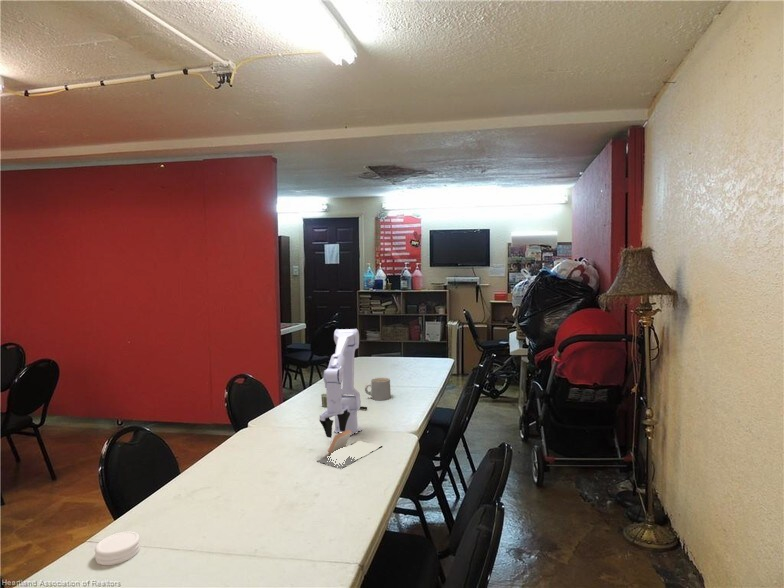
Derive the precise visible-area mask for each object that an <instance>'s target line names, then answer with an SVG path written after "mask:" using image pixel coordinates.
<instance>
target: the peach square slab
mask: <svg viewBox="0 0 784 588" xmlns="http://www.w3.org/2000/svg"><path fill="white" fill-rule="evenodd" d="M350 435H351V431H350V430H347V431H344V432H342V433H337V434H336V435H334V437H333V439H332V441H331V443H330V446H329V448H328V450H327V452H328V453H329V454H330V453H333V452H334V451H336V450H338V449H340V448H343V447H346V446H347V444H348V441H349V439H350V437H351V436H352V435H351V436H350Z"/></svg>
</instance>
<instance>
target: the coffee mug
mask: <svg viewBox="0 0 784 588" xmlns="http://www.w3.org/2000/svg"><path fill="white" fill-rule="evenodd" d="M370 381H371V382H369V383H366V384H365V386H364V393H366V395H369V396H371V400H373V401H376V402H379V401H380V402H384V401H388V400H390V399H392V398H391V396H392V395H391V379H390V378H389V377H385V376H384V377H381V376H379V377H375V378H371V380H370ZM369 387H370V388H371V390H370V391H368V388H369Z"/></svg>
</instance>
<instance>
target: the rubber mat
mask: <svg viewBox="0 0 784 588" xmlns="http://www.w3.org/2000/svg"><path fill="white" fill-rule="evenodd" d="M327 456H328V455H326V456H324V457H322V458H320V459H318V460H316V462H317V463H319V462H320V464H323V463H325V464H324V465H326V464H328V465H327V466H329V465H331V466H330V467H333V466H334V465H335V464H334V463H333V462H331V461H332V459H331V461H330V458H331V457H330V458H329V457H328V458H329V460H328V458H327ZM354 458H355V457H354ZM354 458H353V459H352V457H351V458H350V456H349V457H348V458H347V459H346V461H345V460H344V461H345V464H343V463H344V462H343V463H342V465H343V466H342V465H341V464H340V463H339V465H340V466H339V465H338V464H336V465H335V467H334V468H336V467H337V466H338V468H337V469H339V468H342V469H344V468H345V466H346V465H348V464H350V463H351V464H353V463H355V462H357V461H356V460H355V459H354ZM336 460H337V459H336ZM351 460H352V461H351ZM354 460H355V462H354ZM327 461H328V462H327ZM329 461H330V462H329ZM333 461H334V460H333ZM352 462H353V463H352ZM335 463H336V461H335ZM351 464H350V465H351ZM348 466H349V465H348ZM343 467H344V468H343ZM346 467H347V466H346Z"/></svg>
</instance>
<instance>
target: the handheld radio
mask: <svg viewBox="0 0 784 588" xmlns="http://www.w3.org/2000/svg"><path fill="white" fill-rule="evenodd" d="M320 396H321V406H322V408H327V393H321V394H320ZM342 396H348V395H342ZM359 410H365V411H366V410H368V406H361V405H360V409H359Z"/></svg>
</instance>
